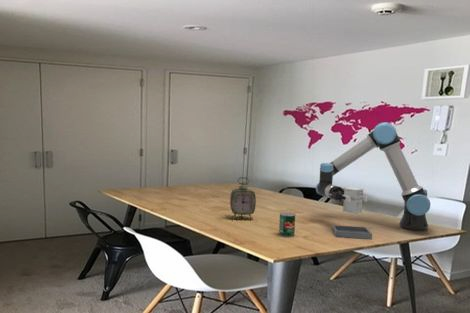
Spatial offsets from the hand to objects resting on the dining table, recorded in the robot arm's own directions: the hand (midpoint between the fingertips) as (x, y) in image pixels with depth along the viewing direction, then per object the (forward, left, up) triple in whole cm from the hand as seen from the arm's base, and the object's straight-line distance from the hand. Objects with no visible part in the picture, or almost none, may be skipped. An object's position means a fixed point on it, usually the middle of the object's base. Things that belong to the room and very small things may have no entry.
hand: (358, 199), depth 211 cm
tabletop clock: (+62, -26, -20) cm, 70 cm away
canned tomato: (+36, +6, -20) cm, 41 cm away
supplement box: (+2, -4, -8) cm, 9 cm away
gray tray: (+2, -4, -20) cm, 20 cm away
